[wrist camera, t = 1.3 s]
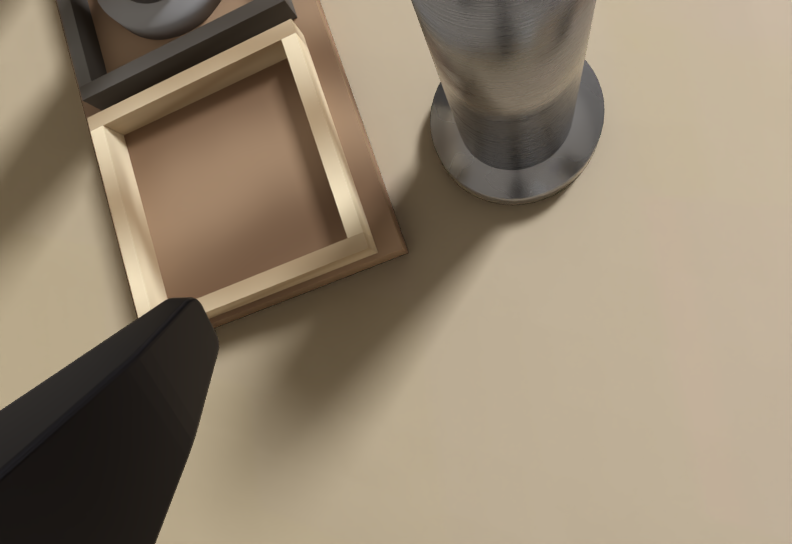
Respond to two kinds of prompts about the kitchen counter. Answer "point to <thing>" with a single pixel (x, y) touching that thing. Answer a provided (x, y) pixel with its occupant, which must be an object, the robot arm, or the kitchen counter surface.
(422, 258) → the kitchen counter surface
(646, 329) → the kitchen counter surface
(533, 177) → the grey cylindrical piece
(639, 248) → the kitchen counter surface
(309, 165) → the pin board
